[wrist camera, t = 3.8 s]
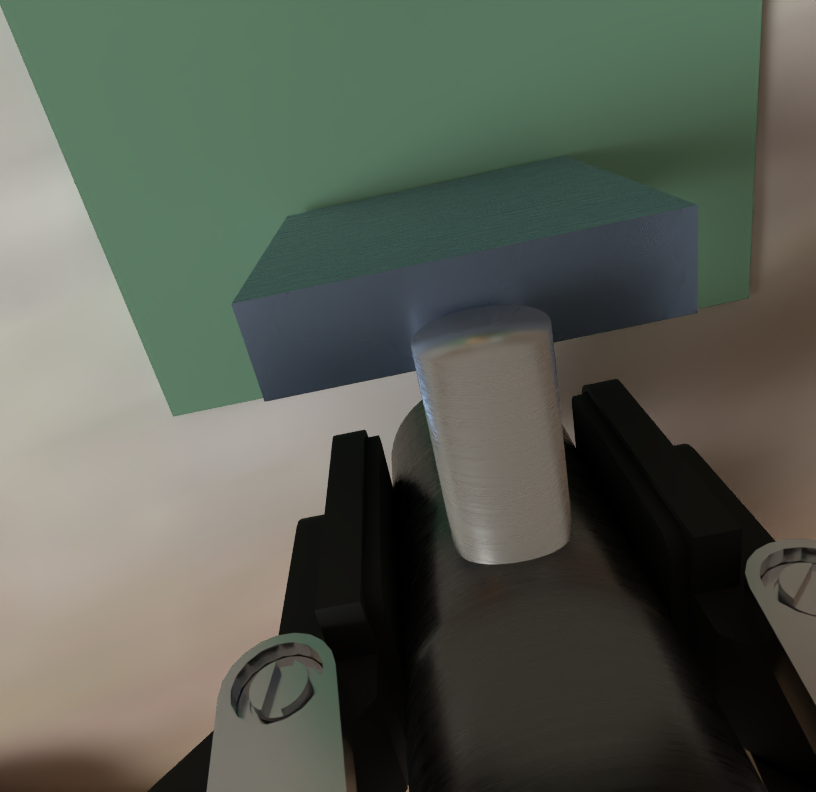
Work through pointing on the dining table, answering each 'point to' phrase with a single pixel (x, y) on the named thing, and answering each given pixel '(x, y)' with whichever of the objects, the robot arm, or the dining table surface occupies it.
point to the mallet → (505, 469)
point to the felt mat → (369, 129)
